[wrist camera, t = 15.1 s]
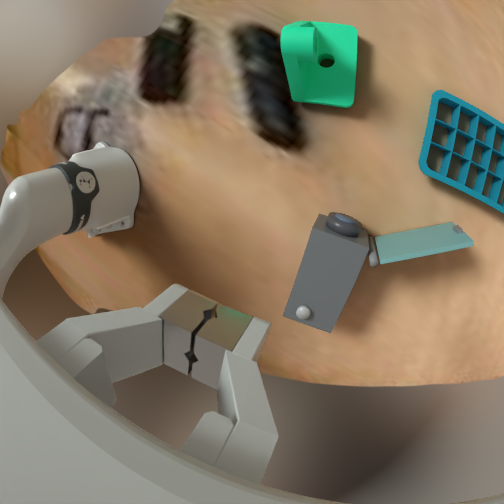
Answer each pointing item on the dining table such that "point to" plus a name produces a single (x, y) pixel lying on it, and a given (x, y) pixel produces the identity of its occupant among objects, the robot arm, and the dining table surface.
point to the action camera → (327, 271)
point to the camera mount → (312, 53)
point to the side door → (417, 243)
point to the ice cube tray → (466, 148)
